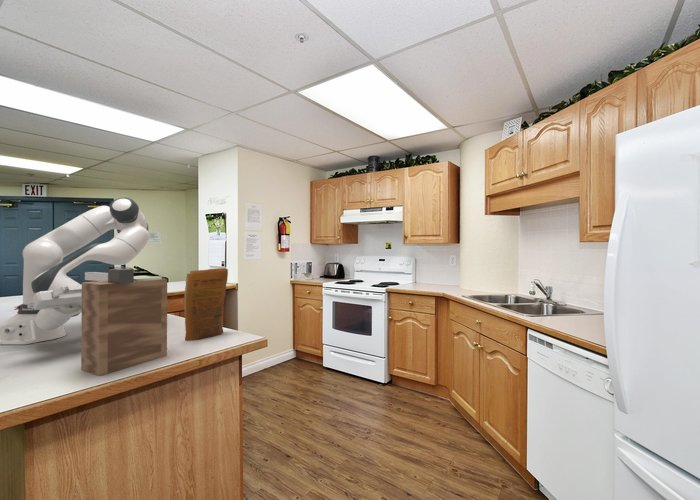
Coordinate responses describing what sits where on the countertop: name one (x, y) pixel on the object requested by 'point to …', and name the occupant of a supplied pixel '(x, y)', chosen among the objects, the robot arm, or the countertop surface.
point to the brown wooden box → (123, 324)
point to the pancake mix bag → (204, 303)
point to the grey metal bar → (112, 276)
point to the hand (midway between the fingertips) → (83, 286)
